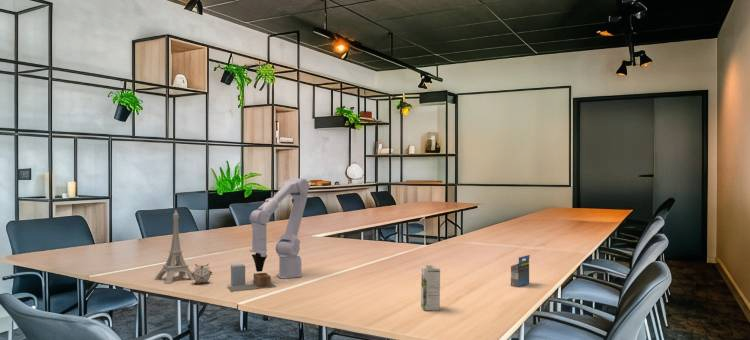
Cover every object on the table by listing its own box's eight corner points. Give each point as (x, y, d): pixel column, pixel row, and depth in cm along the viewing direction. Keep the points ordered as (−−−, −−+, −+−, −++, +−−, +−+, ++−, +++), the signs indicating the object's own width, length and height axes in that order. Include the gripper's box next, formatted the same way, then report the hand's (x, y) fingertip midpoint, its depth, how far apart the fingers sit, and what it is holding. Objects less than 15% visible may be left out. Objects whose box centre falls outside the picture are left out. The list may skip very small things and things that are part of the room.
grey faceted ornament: (203, 293, 211) (203, 276, 205) (186, 284, 212) (186, 268, 206) (216, 278, 218) (217, 262, 212) (200, 270, 219) (199, 254, 214)
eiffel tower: (184, 274, 229) (184, 208, 229) (197, 279, 220) (197, 210, 219) (153, 279, 220) (154, 210, 220) (166, 284, 210) (166, 212, 210)
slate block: (243, 283, 213) (243, 264, 213) (245, 285, 209) (245, 265, 209) (230, 284, 211) (230, 265, 211) (232, 286, 207) (232, 266, 207)
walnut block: (265, 272, 213) (270, 276, 206) (265, 282, 213) (270, 286, 206) (253, 273, 211) (258, 277, 204) (253, 283, 211) (258, 287, 204)
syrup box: (420, 306, 178) (420, 265, 178) (437, 306, 179) (437, 265, 179) (423, 311, 173) (423, 268, 173) (440, 310, 173) (440, 268, 173)
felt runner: (270, 282, 213) (270, 282, 213) (276, 286, 206) (276, 286, 206) (227, 287, 205) (227, 286, 205) (231, 291, 198) (231, 290, 198)
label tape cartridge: (521, 282, 216) (521, 253, 216) (529, 284, 213) (529, 254, 213) (510, 286, 210) (510, 256, 210) (518, 287, 207) (519, 257, 207)
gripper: (245, 237, 217) (245, 269, 217) (254, 241, 204) (254, 275, 204) (262, 236, 220) (262, 267, 220) (271, 240, 207) (271, 273, 208)
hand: (259, 271), depth 213 cm, fingers closed
